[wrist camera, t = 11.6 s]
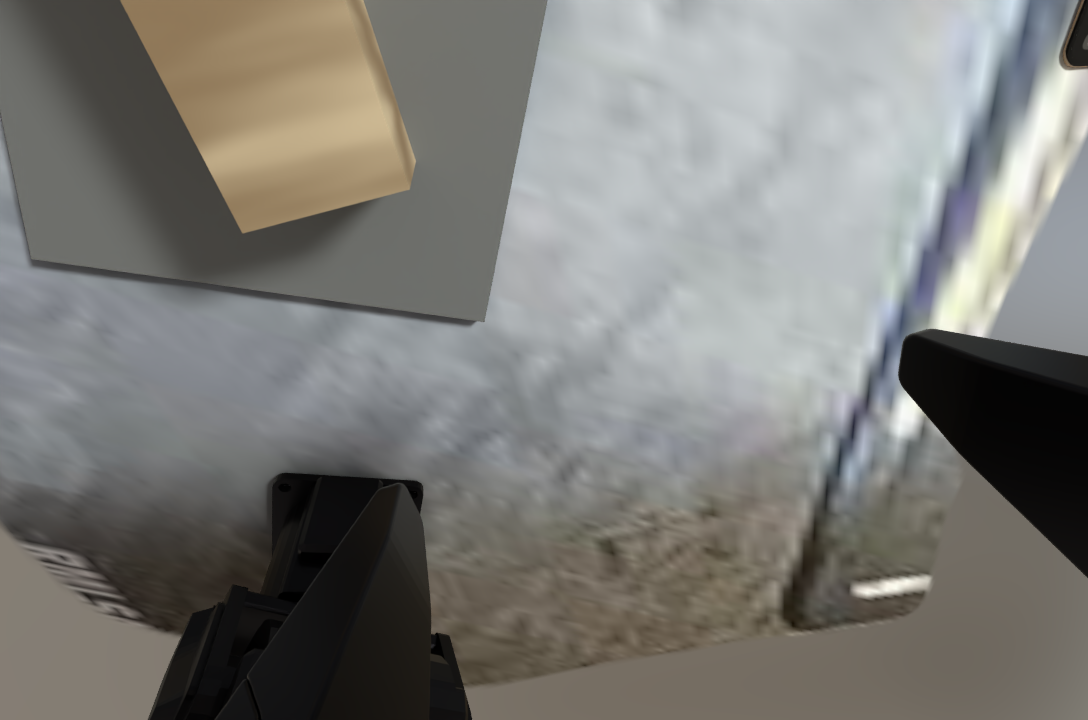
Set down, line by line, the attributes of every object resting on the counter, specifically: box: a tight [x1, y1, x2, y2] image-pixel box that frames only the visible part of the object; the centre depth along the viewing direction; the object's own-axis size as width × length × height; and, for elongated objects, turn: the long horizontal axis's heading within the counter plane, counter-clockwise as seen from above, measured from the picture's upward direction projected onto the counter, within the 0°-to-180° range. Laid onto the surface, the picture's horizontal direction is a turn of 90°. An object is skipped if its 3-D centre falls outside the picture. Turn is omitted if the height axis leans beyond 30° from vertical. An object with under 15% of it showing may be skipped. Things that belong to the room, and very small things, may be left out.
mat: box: [0, 0, 547, 322], centre depth 16 cm, size 18×15×1 cm
